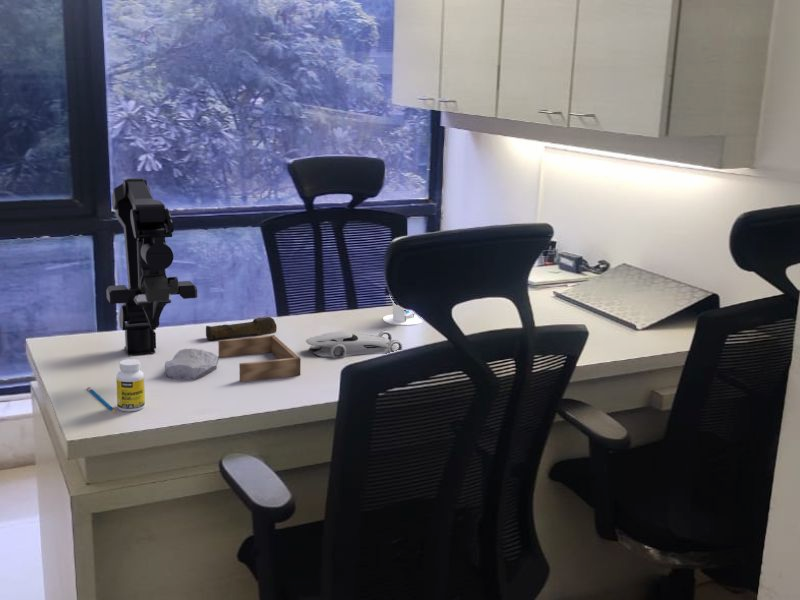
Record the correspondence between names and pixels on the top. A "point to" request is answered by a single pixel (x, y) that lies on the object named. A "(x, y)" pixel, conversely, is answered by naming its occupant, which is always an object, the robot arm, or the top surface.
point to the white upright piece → (401, 317)
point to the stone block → (191, 364)
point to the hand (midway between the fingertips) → (153, 329)
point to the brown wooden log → (242, 329)
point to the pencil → (101, 400)
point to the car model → (352, 344)
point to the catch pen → (262, 369)
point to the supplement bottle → (130, 386)
